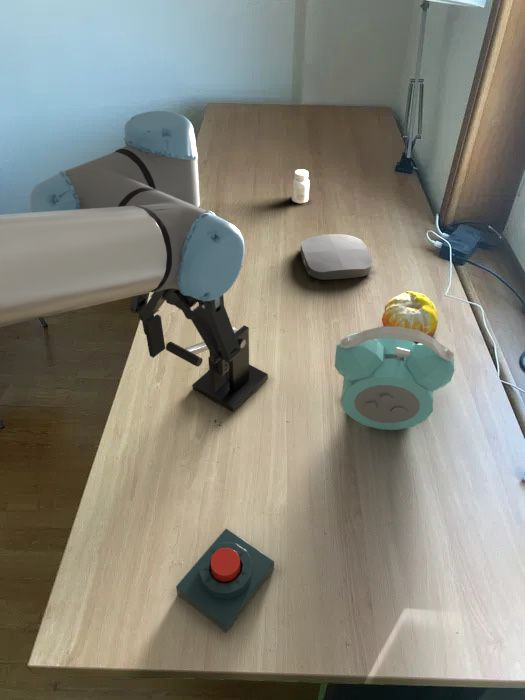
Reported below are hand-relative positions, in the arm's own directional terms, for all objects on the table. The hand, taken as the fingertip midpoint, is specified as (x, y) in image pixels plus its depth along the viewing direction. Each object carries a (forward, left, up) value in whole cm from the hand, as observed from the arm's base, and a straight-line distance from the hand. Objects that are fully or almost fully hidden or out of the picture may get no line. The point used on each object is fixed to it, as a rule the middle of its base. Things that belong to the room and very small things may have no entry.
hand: (187, 368), depth 85 cm
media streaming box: (+49, +23, -12) cm, 56 cm away
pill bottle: (+60, +51, -12) cm, 80 cm away
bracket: (+9, +3, -12) cm, 15 cm away
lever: (+4, +2, 0) cm, 5 cm away
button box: (-10, -27, -12) cm, 31 cm away
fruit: (+46, -3, -12) cm, 48 cm away
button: (-10, -27, -8) cm, 29 cm away
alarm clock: (+26, -17, -12) cm, 33 cm away
